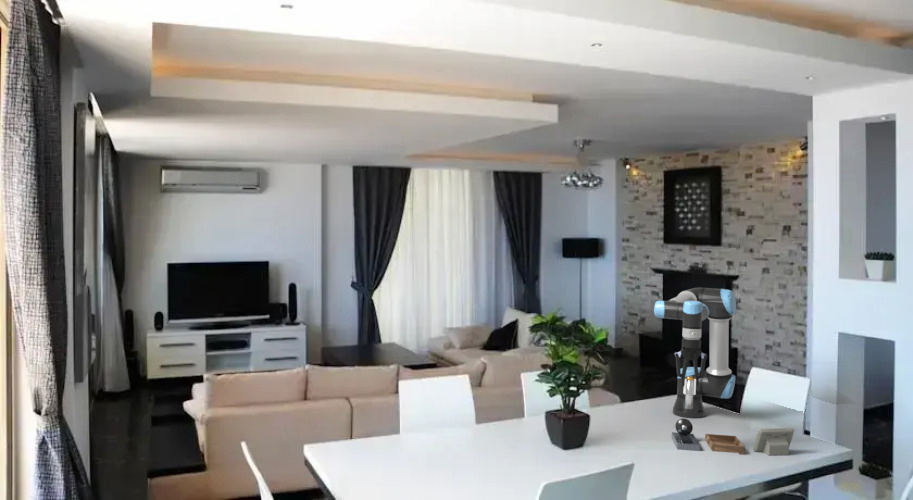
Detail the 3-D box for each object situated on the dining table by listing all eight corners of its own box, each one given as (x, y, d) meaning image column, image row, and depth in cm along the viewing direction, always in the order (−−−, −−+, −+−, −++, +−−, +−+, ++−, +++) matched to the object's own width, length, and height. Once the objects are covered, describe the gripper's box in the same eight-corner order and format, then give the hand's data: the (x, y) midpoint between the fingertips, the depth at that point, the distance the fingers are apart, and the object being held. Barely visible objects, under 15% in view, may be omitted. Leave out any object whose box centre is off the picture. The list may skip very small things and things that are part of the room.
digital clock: (788, 449, 301) (789, 425, 301) (797, 457, 292) (798, 431, 292) (749, 448, 302) (750, 423, 301) (757, 455, 293) (758, 429, 292)
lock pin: (684, 406, 300) (685, 375, 299) (691, 407, 299) (693, 376, 299) (685, 408, 297) (686, 377, 296) (693, 409, 297) (694, 377, 296)
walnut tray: (704, 440, 310) (705, 433, 310) (735, 443, 309) (735, 435, 308) (712, 452, 295) (712, 444, 295) (744, 454, 293) (744, 447, 293)
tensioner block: (671, 439, 312) (672, 416, 311) (692, 440, 310) (693, 417, 310) (677, 450, 296) (678, 426, 296) (699, 452, 295) (700, 428, 294)
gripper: (673, 338, 294) (670, 394, 295) (713, 340, 292) (711, 397, 293) (670, 335, 302) (668, 390, 303) (709, 337, 299) (707, 392, 300)
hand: (689, 393), depth 298 cm, fingers closed on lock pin, 3 cm apart
